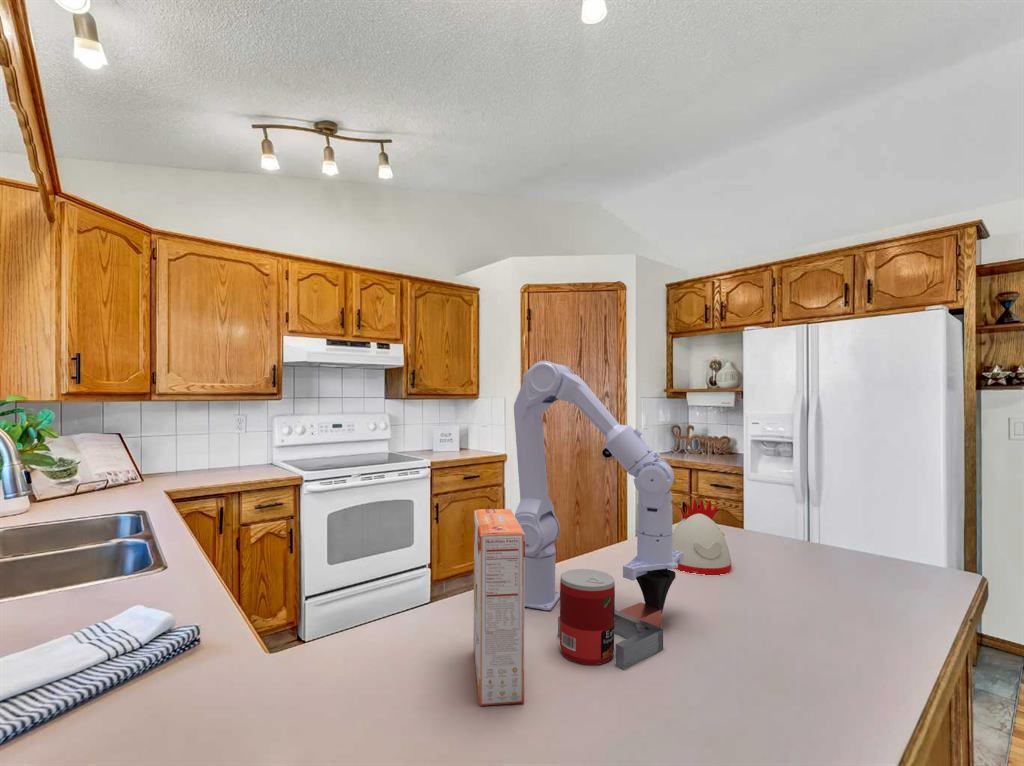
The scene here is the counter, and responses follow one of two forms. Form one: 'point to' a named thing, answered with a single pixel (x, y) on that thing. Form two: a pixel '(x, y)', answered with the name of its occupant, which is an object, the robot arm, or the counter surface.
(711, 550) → the kitchen timer
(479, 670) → the cracker box
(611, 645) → the canned food
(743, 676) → the counter surface
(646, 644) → the clamp
